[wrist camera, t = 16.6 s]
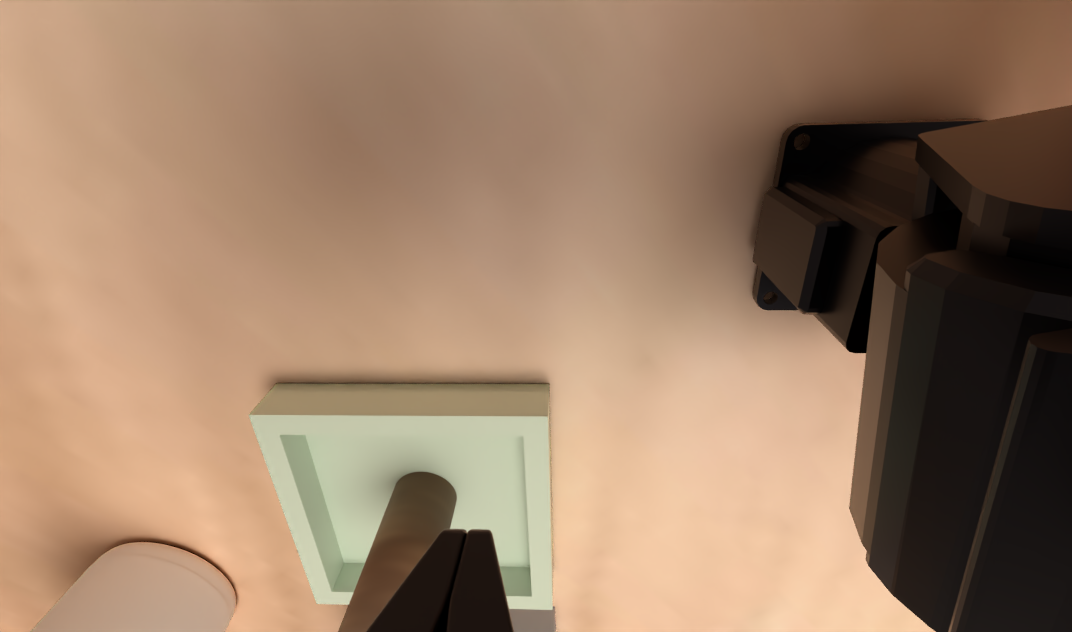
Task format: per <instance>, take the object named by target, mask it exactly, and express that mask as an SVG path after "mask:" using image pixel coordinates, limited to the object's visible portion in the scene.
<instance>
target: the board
mask: <svg viewBox="0 0 1072 632" xmlns="http://www.w3.org/2000/svg"><path fill="white" fill-rule="evenodd" d="M509 611H510V616H511V620H512V625H513V629H514V632H556V621H555V607H553V610H534V609H509Z"/></svg>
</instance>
